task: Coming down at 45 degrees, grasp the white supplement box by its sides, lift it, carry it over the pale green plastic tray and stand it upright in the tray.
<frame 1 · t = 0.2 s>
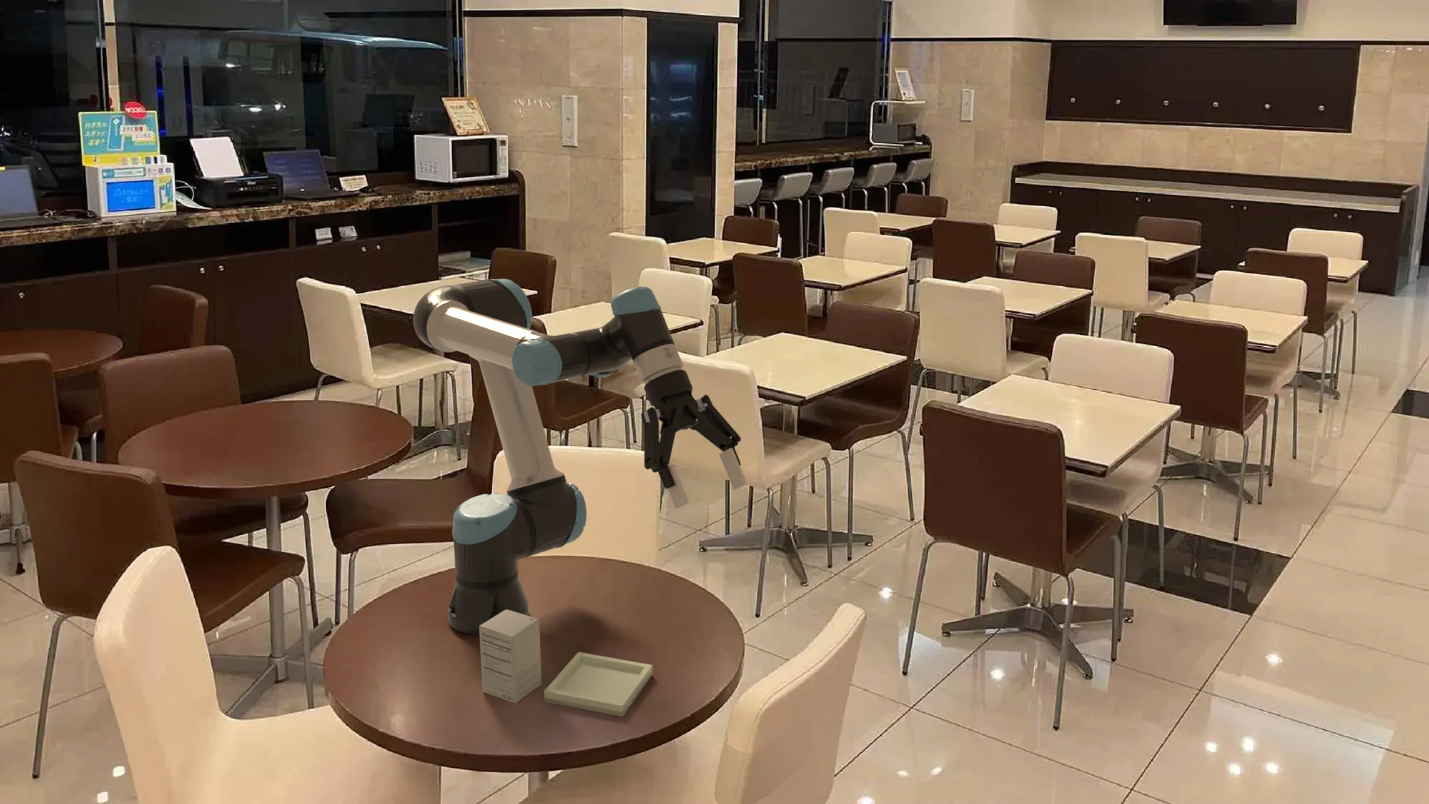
hand: (712, 496, 191), 35 cm above the table, tool tilted 35°, fingers open, 13 cm apart
tray: (599, 688, 201), on the table
supplement box: (512, 689, 200), on the table
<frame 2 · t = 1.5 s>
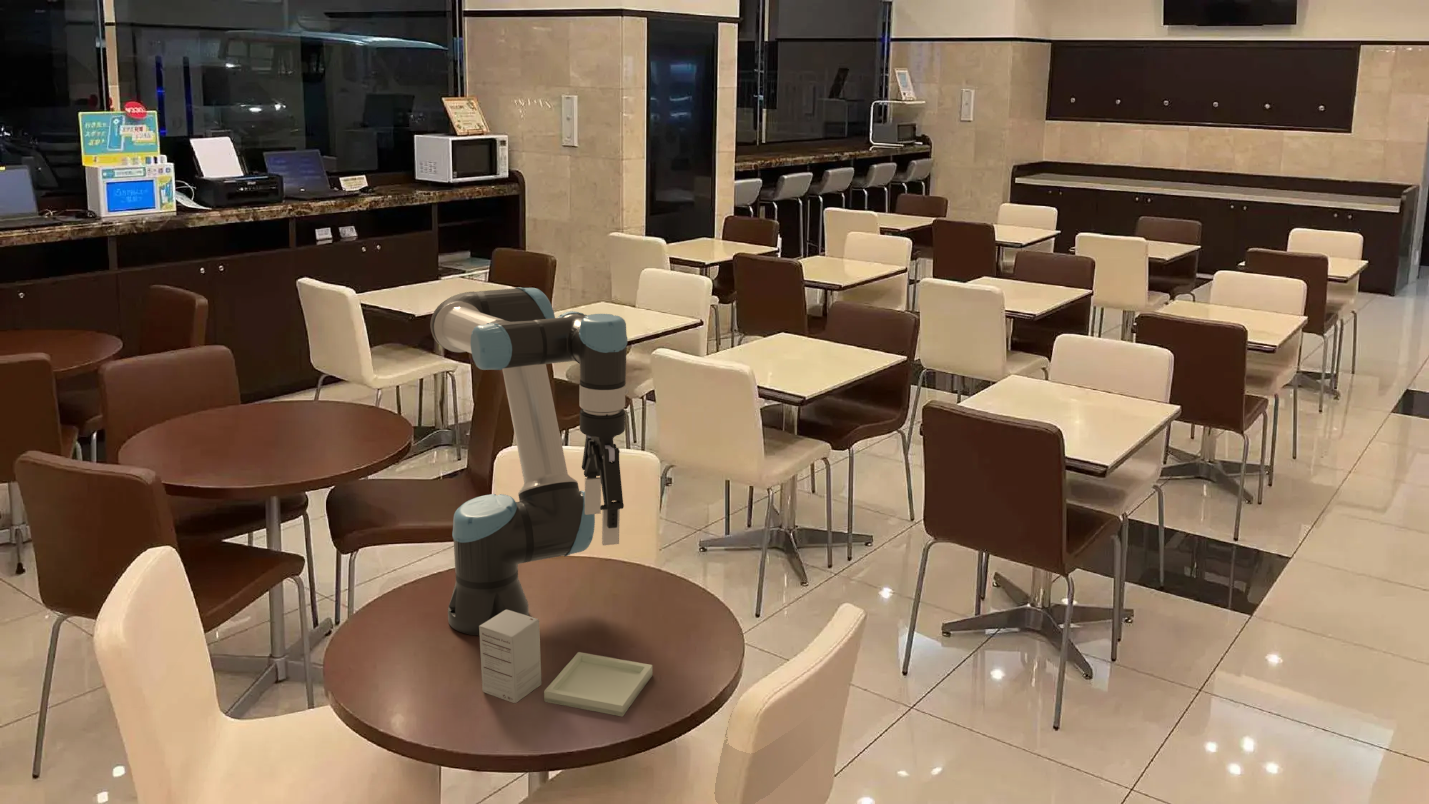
hand: (601, 528, 200), 26 cm above the table, tool pointing down, fingers open, 13 cm apart
nothing on the table moved.
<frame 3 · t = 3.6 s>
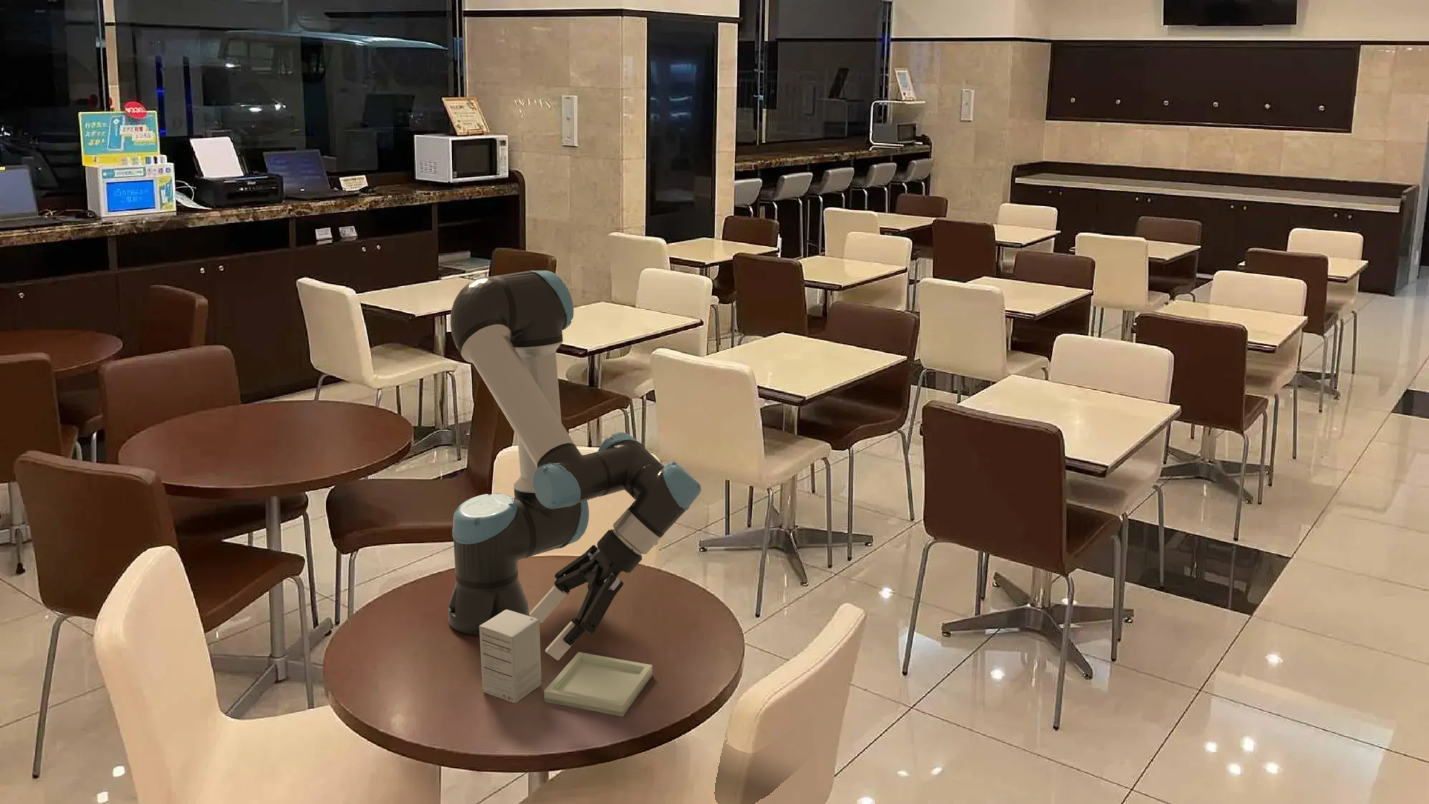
hand: (542, 636, 198), 10 cm above the table, tool tilted 45°, fingers open, 13 cm apart
nothing on the table moved.
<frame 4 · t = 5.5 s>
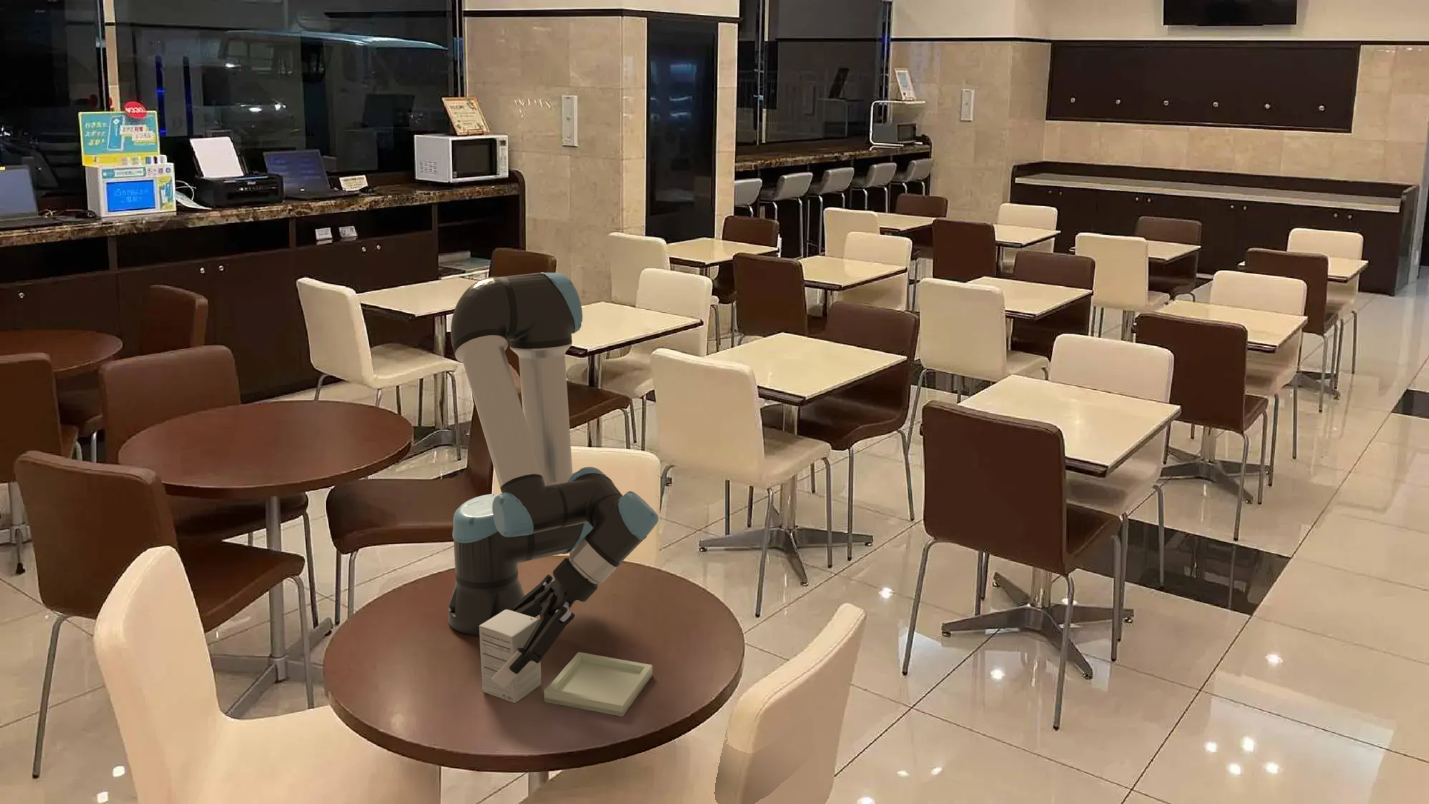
hand: (492, 667, 198), 4 cm above the table, tool tilted 45°, fingers closed on supplement box, 10 cm apart
supplement box: (511, 689, 200), on the table, touching gripper
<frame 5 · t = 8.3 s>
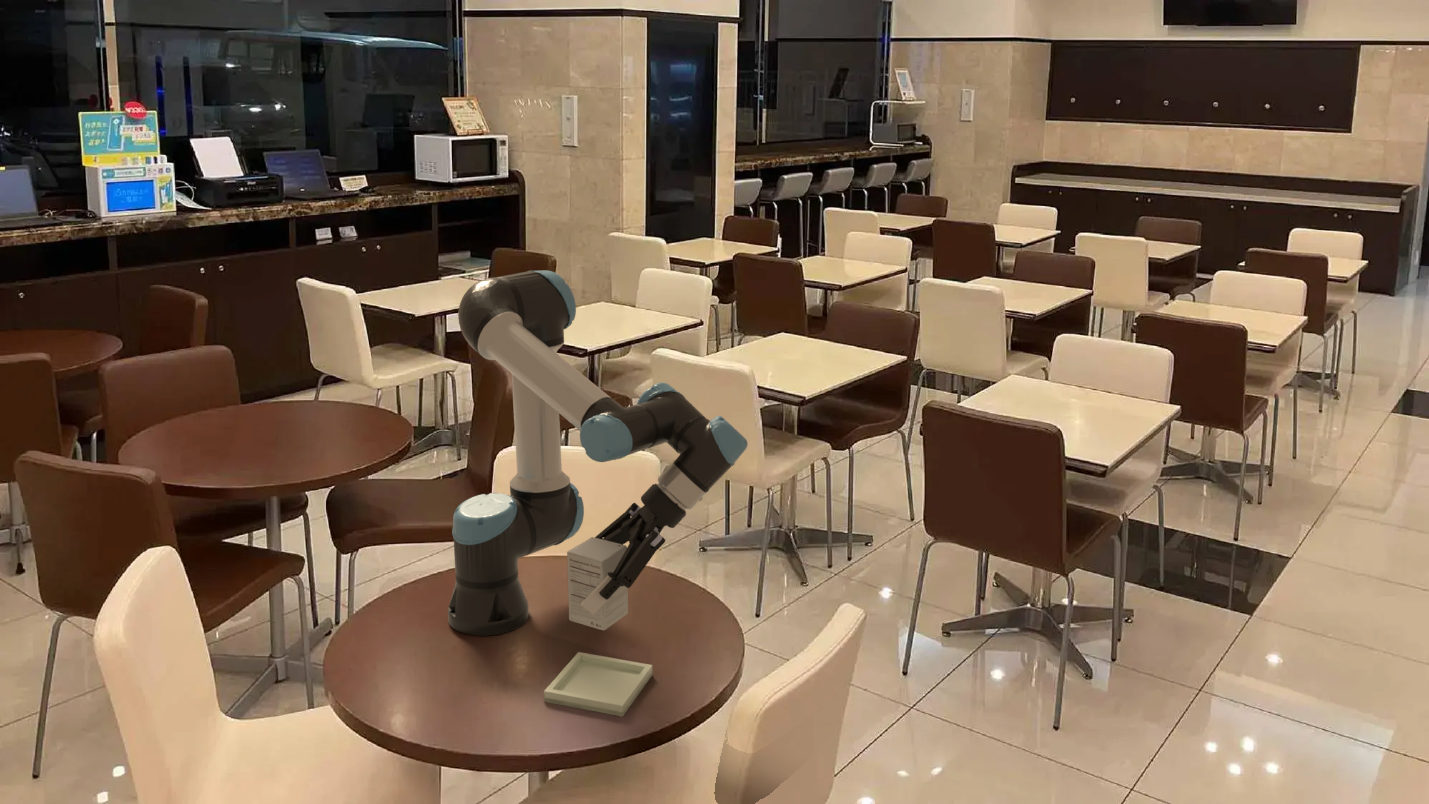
hand: (580, 595, 195), 18 cm above the table, tool tilted 45°, fingers closed on supplement box, 10 cm apart
supplement box: (598, 618, 197), point 13 cm above the table, touching gripper
when the fingers open (6 cm above the table, at t = 10.9 s): supplement box drops 1 cm, resting on tray.
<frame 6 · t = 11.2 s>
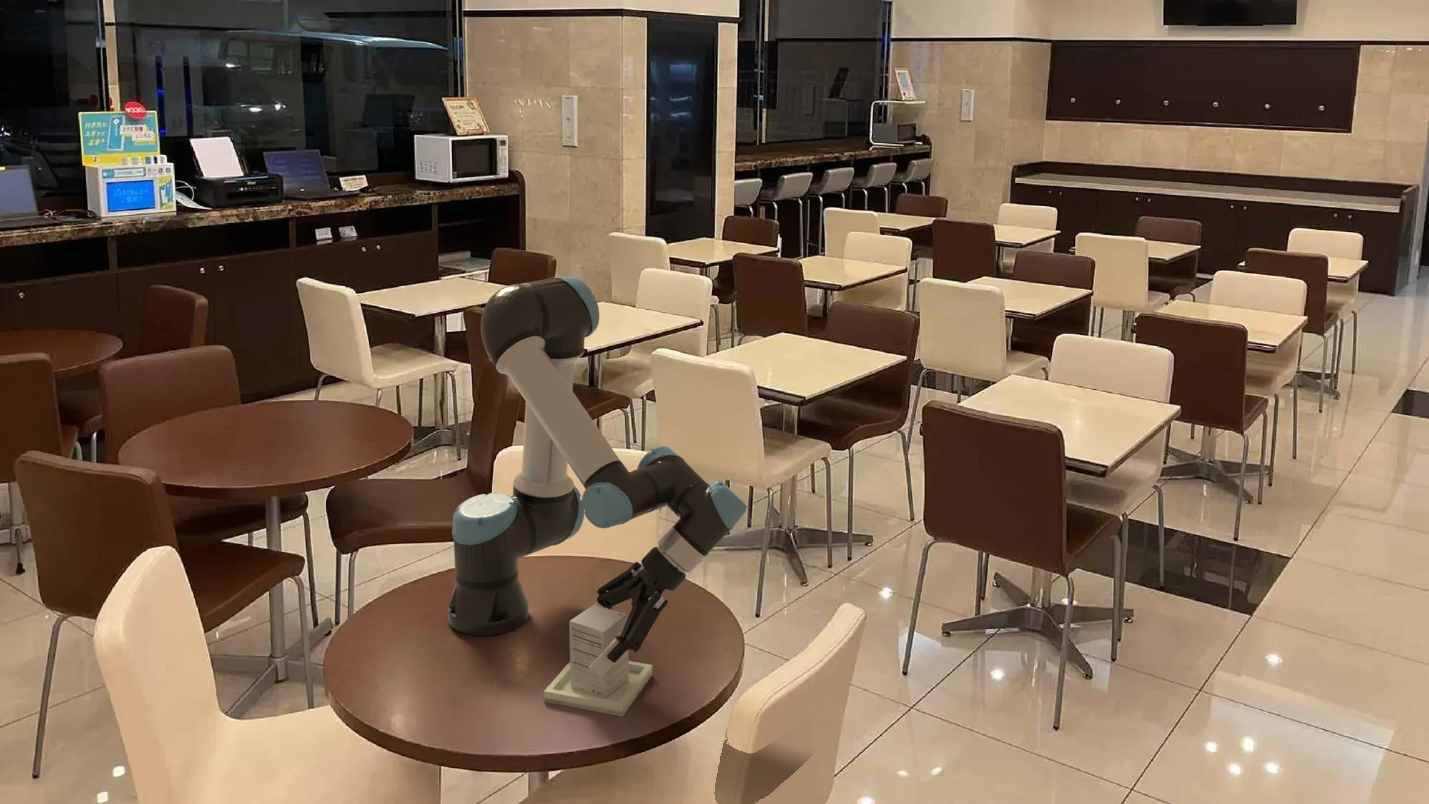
hand: (585, 652, 198), 7 cm above the table, tool tilted 45°, fingers open, 13 cm apart
supplement box: (599, 684, 201), point 1 cm above the table, touching tray
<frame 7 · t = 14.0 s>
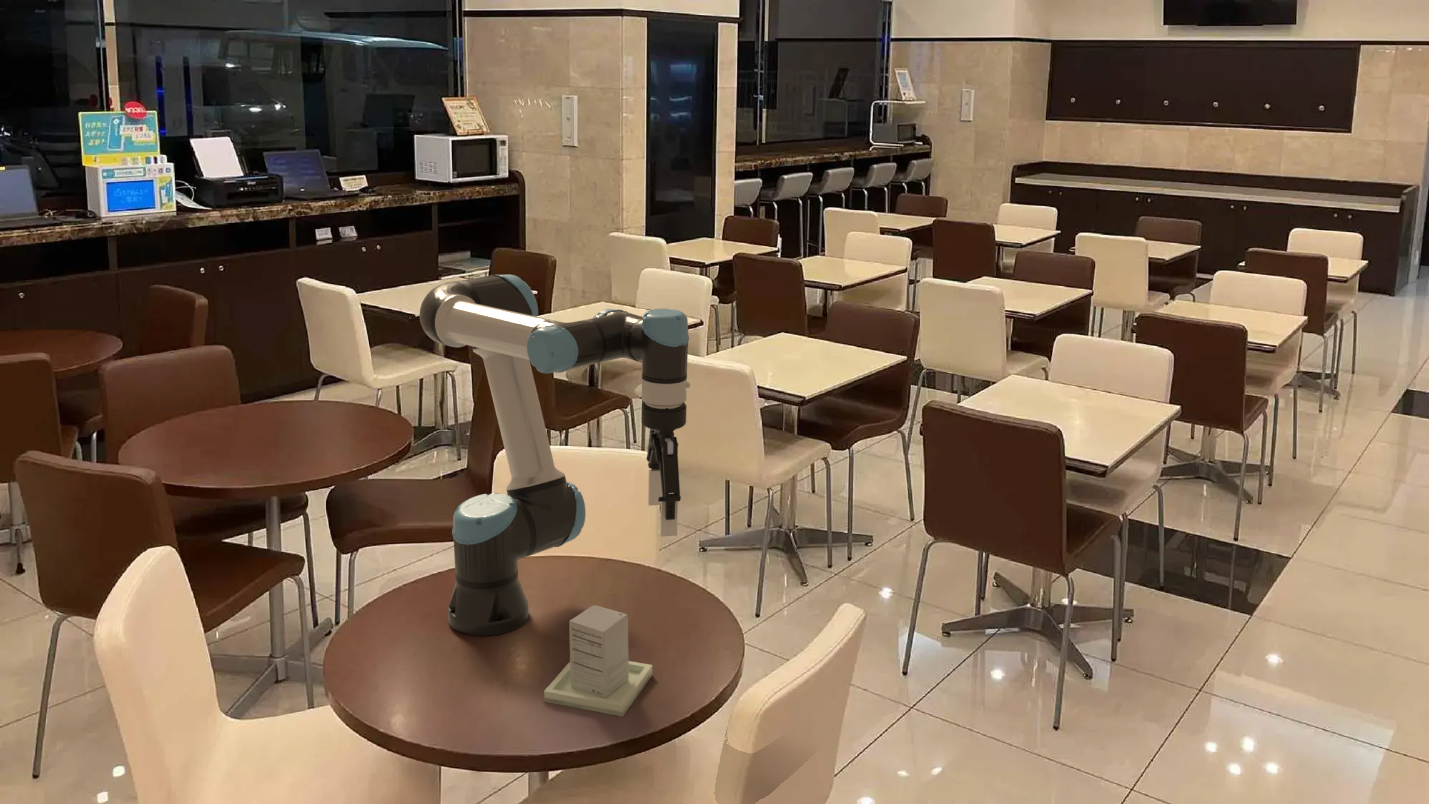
hand: (662, 519, 204), 27 cm above the table, tool pointing down, fingers open, 13 cm apart
nothing on the table moved.
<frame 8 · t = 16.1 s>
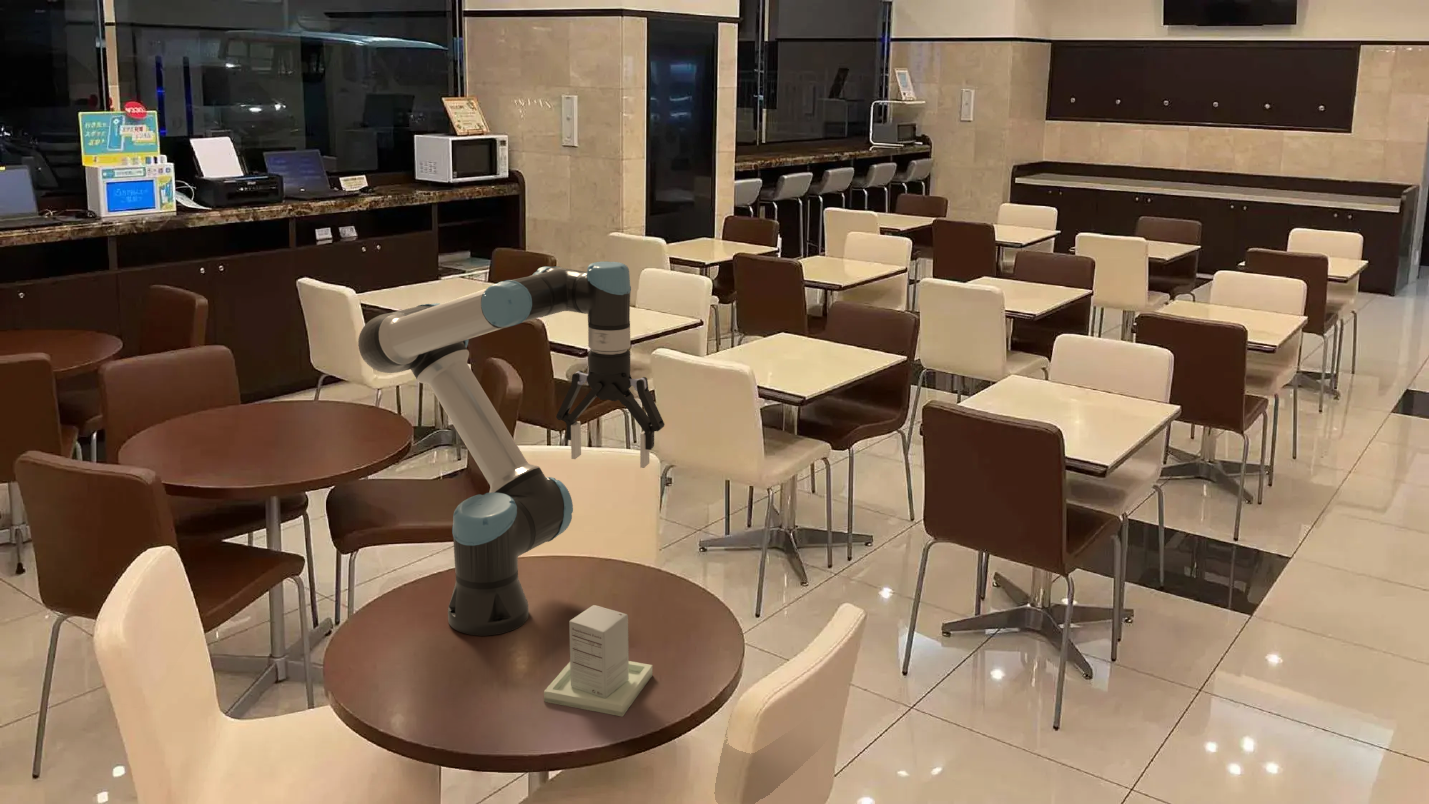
hand: (610, 461, 217), 32 cm above the table, tool pointing down, fingers open, 13 cm apart
nothing on the table moved.
at the end: supplement box inside the target area on the tray (0.0 cm from its centre), point 0.6 cm above the tray's base; supplement box tilted 0°; the gripper is holding nothing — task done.
